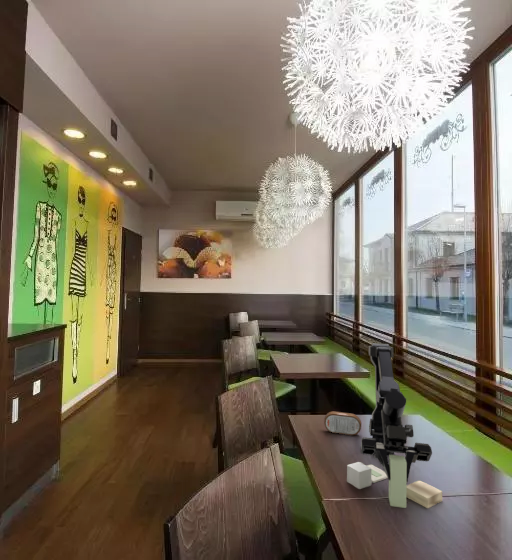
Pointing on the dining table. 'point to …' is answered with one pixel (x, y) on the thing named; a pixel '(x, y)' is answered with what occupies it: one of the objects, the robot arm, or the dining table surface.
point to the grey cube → (359, 475)
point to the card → (377, 474)
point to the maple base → (423, 494)
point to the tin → (342, 423)
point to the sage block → (397, 481)
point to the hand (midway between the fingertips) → (398, 480)
